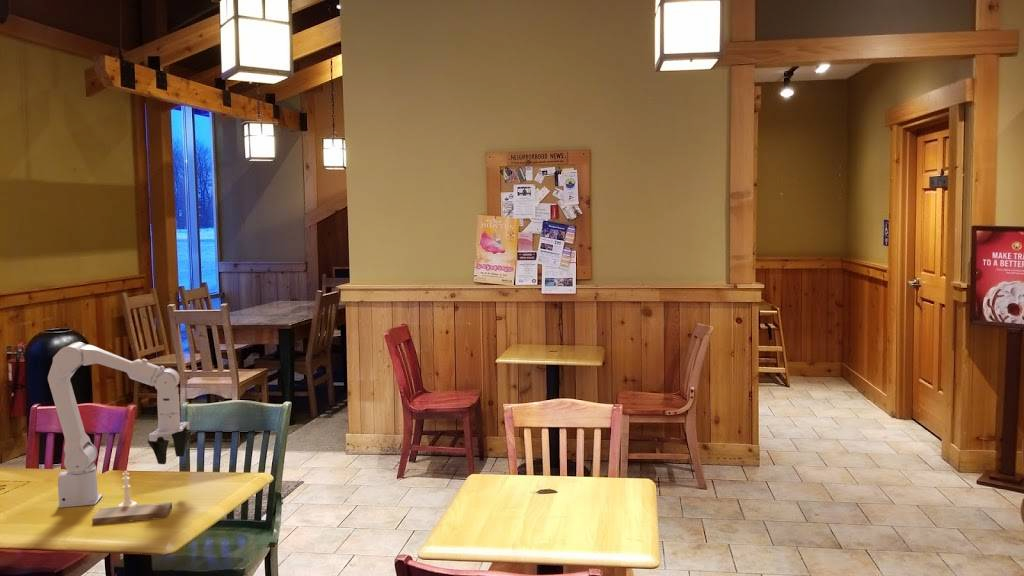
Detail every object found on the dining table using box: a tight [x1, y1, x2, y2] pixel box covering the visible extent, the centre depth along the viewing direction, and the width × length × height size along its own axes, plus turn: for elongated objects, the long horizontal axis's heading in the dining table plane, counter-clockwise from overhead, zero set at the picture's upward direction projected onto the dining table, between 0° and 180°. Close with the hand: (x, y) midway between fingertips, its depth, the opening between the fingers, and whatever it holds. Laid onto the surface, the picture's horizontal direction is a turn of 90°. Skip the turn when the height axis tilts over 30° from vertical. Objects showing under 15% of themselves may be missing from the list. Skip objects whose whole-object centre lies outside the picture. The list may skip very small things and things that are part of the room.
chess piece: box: [117, 470, 138, 507], centre depth 235 cm, size 5×5×10 cm
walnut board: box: [91, 501, 173, 525], centre depth 228 cm, size 18×8×2 cm, turn 102°
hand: (171, 460), depth 244 cm, fingers open, 7 cm apart
